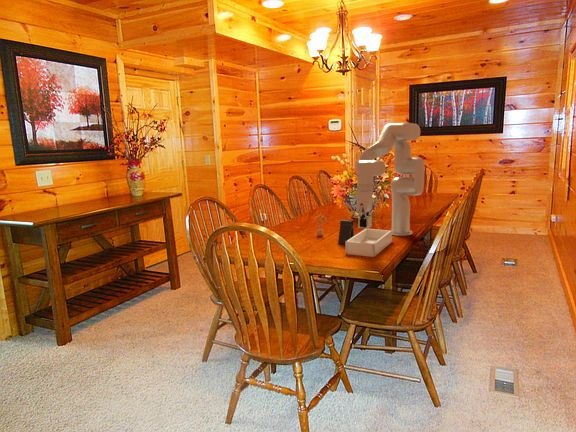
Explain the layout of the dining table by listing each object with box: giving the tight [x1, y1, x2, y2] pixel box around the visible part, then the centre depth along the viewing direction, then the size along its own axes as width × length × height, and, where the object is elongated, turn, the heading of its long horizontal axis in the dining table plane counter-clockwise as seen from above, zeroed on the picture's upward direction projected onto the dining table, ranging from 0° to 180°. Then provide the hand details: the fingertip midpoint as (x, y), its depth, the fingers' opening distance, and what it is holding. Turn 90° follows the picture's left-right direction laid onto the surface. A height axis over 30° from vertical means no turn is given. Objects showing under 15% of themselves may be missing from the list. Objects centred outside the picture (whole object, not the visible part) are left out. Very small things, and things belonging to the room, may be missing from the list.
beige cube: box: [357, 216, 373, 229], centre depth 204 cm, size 5×5×5 cm
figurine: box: [312, 213, 329, 237], centre depth 241 cm, size 8×6×12 cm
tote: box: [344, 228, 393, 258], centre depth 212 cm, size 30×14×6 cm, turn 151°
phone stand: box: [337, 219, 356, 246], centre depth 223 cm, size 9×6×12 cm, turn 149°
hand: (365, 225), depth 204 cm, fingers closed on beige cube, 4 cm apart
